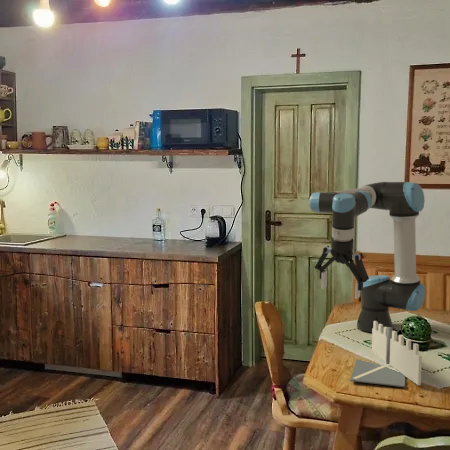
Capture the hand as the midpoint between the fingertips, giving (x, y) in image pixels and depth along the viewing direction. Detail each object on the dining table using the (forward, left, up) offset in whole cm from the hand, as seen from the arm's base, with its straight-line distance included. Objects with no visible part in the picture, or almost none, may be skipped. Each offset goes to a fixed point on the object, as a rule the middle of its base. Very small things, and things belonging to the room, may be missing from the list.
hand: (340, 292), depth 203 cm
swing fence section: (-11, +20, -28) cm, 36 cm away
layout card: (-12, +9, -29) cm, 32 cm away
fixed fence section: (-20, +5, -28) cm, 35 cm away
